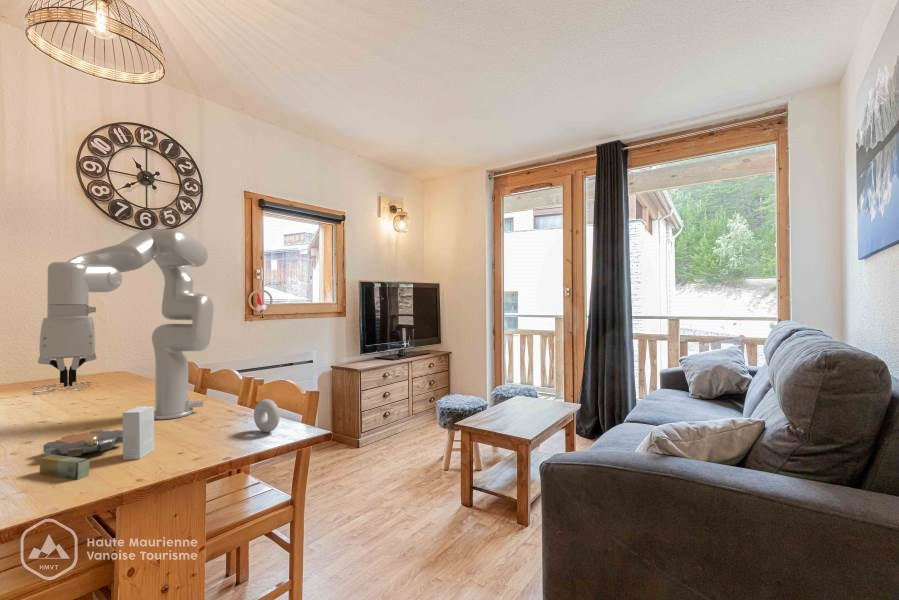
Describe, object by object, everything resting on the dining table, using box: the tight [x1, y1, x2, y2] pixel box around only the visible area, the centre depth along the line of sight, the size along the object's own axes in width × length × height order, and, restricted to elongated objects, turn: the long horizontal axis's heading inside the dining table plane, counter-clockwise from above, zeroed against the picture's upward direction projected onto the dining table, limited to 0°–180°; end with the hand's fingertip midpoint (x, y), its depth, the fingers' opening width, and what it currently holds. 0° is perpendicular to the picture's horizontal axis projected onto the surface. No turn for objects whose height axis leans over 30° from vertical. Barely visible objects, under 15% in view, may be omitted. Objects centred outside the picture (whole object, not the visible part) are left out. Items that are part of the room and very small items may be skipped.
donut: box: [253, 398, 281, 433], centre depth 126 cm, size 10×4×10 cm, turn 60°
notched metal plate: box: [42, 429, 123, 457], centre depth 109 cm, size 16×16×4 cm
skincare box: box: [122, 405, 155, 461], centre depth 107 cm, size 6×4×12 cm
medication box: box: [38, 455, 91, 481], centre depth 95 cm, size 12×3×4 cm, turn 76°
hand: (68, 385), depth 103 cm, fingers closed
